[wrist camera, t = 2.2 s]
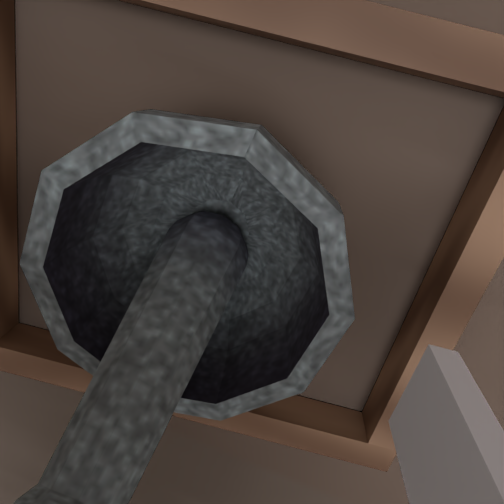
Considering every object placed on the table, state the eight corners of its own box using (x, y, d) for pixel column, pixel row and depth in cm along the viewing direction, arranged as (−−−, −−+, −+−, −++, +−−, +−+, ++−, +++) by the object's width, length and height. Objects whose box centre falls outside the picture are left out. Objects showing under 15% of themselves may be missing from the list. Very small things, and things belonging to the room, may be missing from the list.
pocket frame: (379, 438, 22) (386, 471, 20) (-8, 337, 22) (-36, 361, 20) (569, 65, 14) (610, 61, 12) (-27, -85, 14) (-75, -112, 12)
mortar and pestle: (165, 57, 15) (-172, -18, 4) (376, 165, 16) (548, 335, 5) (90, 284, 20) (-173, 532, 9) (257, 360, 20) (211, 680, 9)
